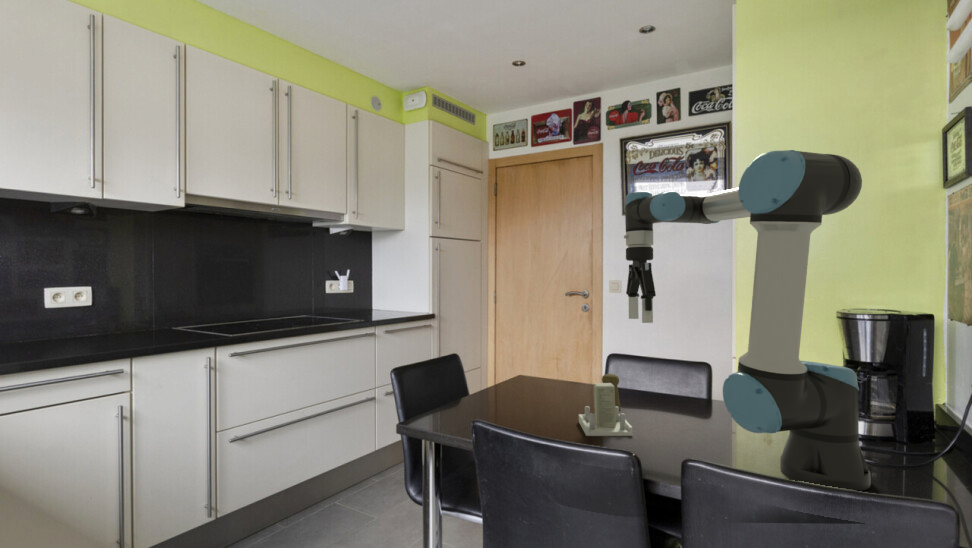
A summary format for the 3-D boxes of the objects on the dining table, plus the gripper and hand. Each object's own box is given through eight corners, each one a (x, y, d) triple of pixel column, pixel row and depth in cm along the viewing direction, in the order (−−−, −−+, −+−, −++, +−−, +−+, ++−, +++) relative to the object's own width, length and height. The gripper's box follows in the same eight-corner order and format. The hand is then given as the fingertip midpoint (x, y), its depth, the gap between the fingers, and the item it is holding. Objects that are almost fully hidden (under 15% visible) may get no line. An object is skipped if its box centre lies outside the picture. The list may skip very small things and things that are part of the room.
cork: (600, 411, 147) (599, 375, 147) (601, 406, 153) (601, 372, 153) (620, 413, 145) (620, 376, 146) (621, 408, 151) (620, 373, 151)
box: (612, 422, 132) (612, 382, 132) (616, 427, 128) (615, 386, 128) (593, 422, 133) (593, 382, 133) (596, 427, 128) (595, 386, 128)
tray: (632, 435, 124) (632, 416, 124) (586, 435, 125) (586, 416, 125) (621, 422, 136) (620, 404, 136) (578, 422, 137) (578, 404, 137)
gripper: (615, 249, 150) (616, 317, 150) (638, 243, 125) (639, 324, 125) (639, 249, 150) (640, 317, 150) (667, 243, 125) (668, 324, 125)
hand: (640, 320), depth 137 cm, fingers open, 13 cm apart
